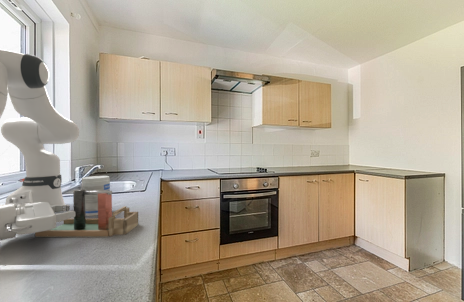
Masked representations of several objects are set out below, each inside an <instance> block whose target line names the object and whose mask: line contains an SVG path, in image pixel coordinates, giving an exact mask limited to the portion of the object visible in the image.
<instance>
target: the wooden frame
mask: <svg viewBox="0 0 464 302" xmlns="http://www.w3.org/2000/svg"><path fill="white" fill-rule="evenodd" d="M121 213H123V218H124V219H115V218H116V216H118V215H119V214H121ZM138 225H139V211H130V207H127V206H126V205H124V206H122V207H120V208H118V209H117V210H114V211H112V216H111V217H110V218H109V236H108V237H113V236H114V235H115V236H117V235H120V236H121V235H122V236H123V235H127V234H128V233H130V232H131V231H132V230H134V229H135V228H136V227H137V226H138Z"/></svg>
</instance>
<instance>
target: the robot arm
mask: <svg viewBox="0 0 464 302" xmlns="http://www.w3.org/2000/svg"><path fill="white" fill-rule="evenodd" d="M49 80H50V71H49V67H48V65H47V63H46V62H45V61H44V60H43V59H42V58H41V57H39V56H36V55H35V54H34V55H33V54H31V53H21V52H18V51H12V50H7V49H2V48H0V119H1V118H2V116H3V114H4V111H5V109H6V105H7V103H8V102H7V101H8V98H9V100H10V103H11V104H12V107H13V109H14V111H15V112H17V114H19V115H20V116H22V117H18V118H8V119H6V120H5V121H4V122H3V123H2V125H1V126H0V127H1V128H0V132H1V135H2V138H4V139H5V140H6V141H7V142H9V143H11V144H12V145H14V146H15V147H16V148H17V149H18V150H19V151H20V152H21V154H22V156H23V158H24V163H25V173H26V174H25V177H24V178H20V179H19V182H21V183H22V184H21V186H20V187H18V188H17V190H14V191H13V192H12V193H10V194H9V195H7V197H6V198H5V204H0V241H3V240H9V239H14V238H16V237H17V235H18V236H19V235H21V236H22V235H29V234H35V233H36V232H42V231H47V230H51V229H54V228H56V227H57V223H60V222H61V223H62V222H64V220H66V219H74V217H75V211H74V209H72V210H71V206H70V204H66V203H65V201H64V197H63V192H62V180H63V178H62V174H61V159H60V157H59V156H58V155H57V154H55V153H54V152H51V151H47V149H45V147H44V145H63V144H71V143H74V142H76V141H77V139H78V138H79V136H80V128H79V126H78V125H77V123H75V122H74V121H72V120H70V119H69V118H66V117H64V116H63V115H62V114H61V113H59V112H58V110H56V108H55V107H54V106H53V103H52V101H51V99H50V96H49V94H48V90H47V88H46V85H48V83H49Z"/></svg>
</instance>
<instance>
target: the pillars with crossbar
mask: <svg viewBox="0 0 464 302" xmlns="http://www.w3.org/2000/svg"><path fill="white" fill-rule="evenodd" d="M72 193H73V195H72V196H73V200H72V201H73V211H75V217H74V218H73V219H74V230H79V229H83V228H85V227H86V219H87V218H86V213H85V195H98V215H97V219H98V230H107V229H108V228H109V218H110V217H111V216H113V214H112V213H113V196H112V195H113V191H112V190H110V191H85V189H82V188H81V189H75V190H73V191H72Z"/></svg>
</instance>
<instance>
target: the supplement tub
mask: <svg viewBox="0 0 464 302" xmlns="http://www.w3.org/2000/svg"><path fill="white" fill-rule="evenodd" d="M110 179H111V178H110V176H109V175H95V176H92V175H91V176H85V177H82V178H81V184H80V185H81V189H85V191H111V183H110V182H111V180H110ZM85 213H86V216H87V217H88V216H89V217H93V216H98V195H85Z"/></svg>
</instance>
